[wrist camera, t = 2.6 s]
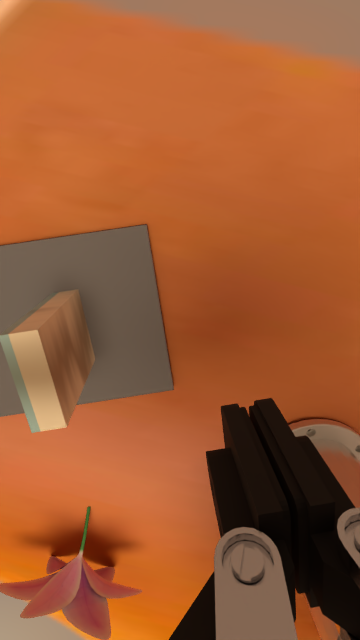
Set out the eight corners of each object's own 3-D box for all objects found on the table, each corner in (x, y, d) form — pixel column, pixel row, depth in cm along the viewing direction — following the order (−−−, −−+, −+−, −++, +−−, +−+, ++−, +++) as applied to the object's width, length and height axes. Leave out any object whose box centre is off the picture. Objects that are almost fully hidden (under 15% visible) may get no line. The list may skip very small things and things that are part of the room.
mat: (173, 385, 29) (173, 389, 29) (-73, 423, 29) (-79, 428, 28) (146, 224, 25) (146, 224, 24) (-145, 266, 24) (-155, 268, 24)
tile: (95, 359, 27) (66, 427, 19) (71, 362, 27) (31, 432, 19) (78, 289, 25) (37, 329, 17) (52, 293, 25) (-2, 335, 17)
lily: (5, 514, 34) (-30, 643, 28) (58, 488, 28) (27, 647, 21) (104, 525, 40) (94, 633, 34) (166, 506, 34) (167, 633, 28)
